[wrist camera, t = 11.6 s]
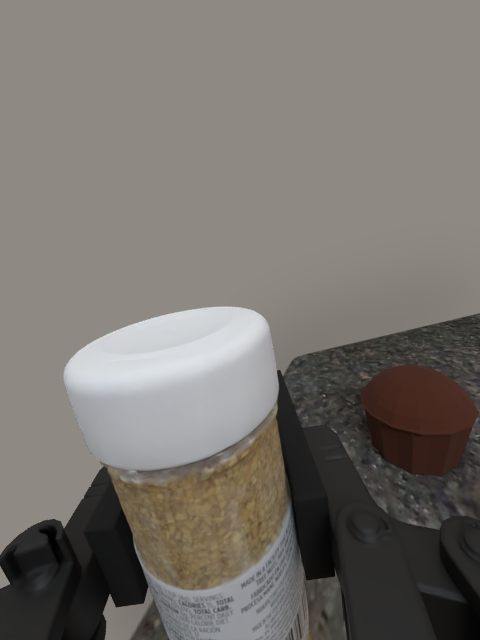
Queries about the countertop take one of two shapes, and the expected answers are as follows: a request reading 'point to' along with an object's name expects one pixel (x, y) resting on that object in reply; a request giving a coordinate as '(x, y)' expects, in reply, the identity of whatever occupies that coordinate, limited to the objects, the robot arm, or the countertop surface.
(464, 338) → the countertop surface
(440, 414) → the muffin
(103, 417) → the sprinkles bottle
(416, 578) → the robot arm
